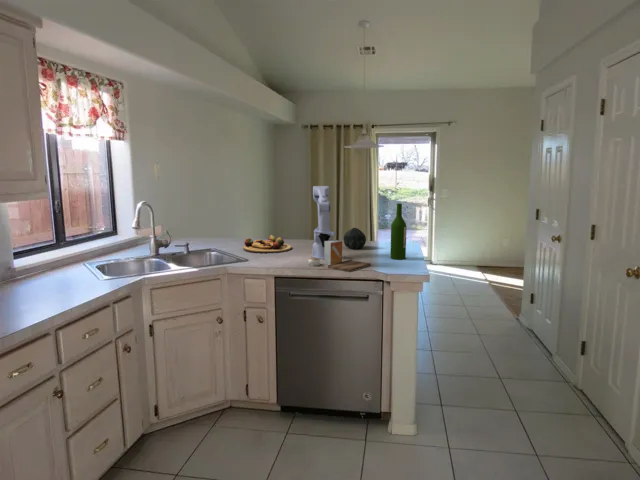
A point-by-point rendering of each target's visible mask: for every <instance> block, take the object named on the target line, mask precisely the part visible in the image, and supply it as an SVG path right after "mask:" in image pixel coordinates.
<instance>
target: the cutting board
mask: <svg viewBox="0 0 640 480" xmlns="http://www.w3.org/2000/svg"><path fill="white" fill-rule="evenodd" d="M370 265H371V266H372V263H370V262H364V261H360V260H359V261H358V260H352V259H347V260H342V262H339V263H335V264H331V265H327V269H331V268H332V270H337V271H342V272H348V273H350V272H353V271H357V270H360V269H364V268H367V267H370ZM366 266H367V267H366ZM363 267H364V268H363ZM359 268H360V269H359ZM356 269H357V270H356Z"/></svg>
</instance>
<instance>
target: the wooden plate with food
mask: <svg viewBox="0 0 640 480" xmlns="http://www.w3.org/2000/svg"><path fill="white" fill-rule="evenodd" d="M292 248H293V247H292V245H290V244H288V243H285V241H284V238H282V237H281V236H279V237H275V236H274V235H272V234H271V235H270V236H269V237H268V238H267V240H266V239H265V240H263V239H256V240H253V239H251V238H249V237H247V238H245V240H244V246H243V247H242V250H244V252H247V253H253V254H280V253H286V252H288V251H291V250H292Z"/></svg>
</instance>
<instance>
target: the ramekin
mask: <svg viewBox="0 0 640 480" xmlns="http://www.w3.org/2000/svg"><path fill="white" fill-rule="evenodd" d="M320 260H321V259H320V258H314V257H310V258H308V260H307V265H308V266H310V267H318V266H321V265H320V264H321V263H320V262H321V261H320Z"/></svg>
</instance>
